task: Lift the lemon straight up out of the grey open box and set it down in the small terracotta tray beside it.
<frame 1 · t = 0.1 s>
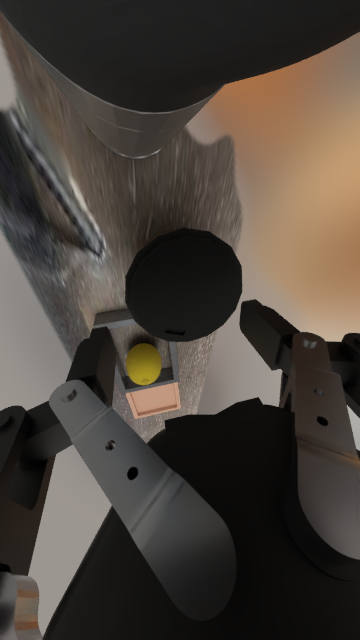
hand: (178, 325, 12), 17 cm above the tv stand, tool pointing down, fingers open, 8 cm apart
lemon: (142, 345, 35), resting in grey open box
coffee cup: (167, 256, 27), on the tv stand
grey open box: (142, 346, 35), on the tv stand
tray: (154, 395, 44), on the tv stand
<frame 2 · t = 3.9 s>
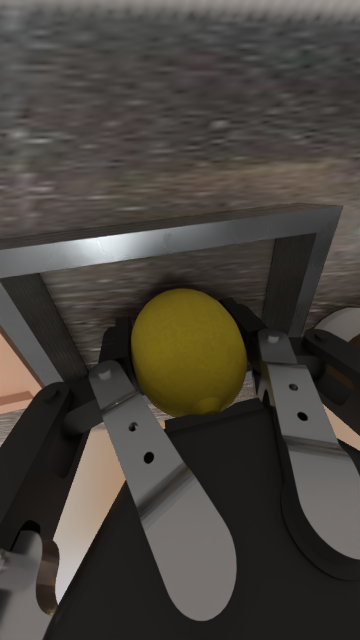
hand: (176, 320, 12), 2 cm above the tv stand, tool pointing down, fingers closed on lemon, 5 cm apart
lemon: (171, 307, 14), resting in grey open box, touching gripper
coffee cup: (332, 333, 19), on the tv stand
grey open box: (172, 308, 14), on the tv stand
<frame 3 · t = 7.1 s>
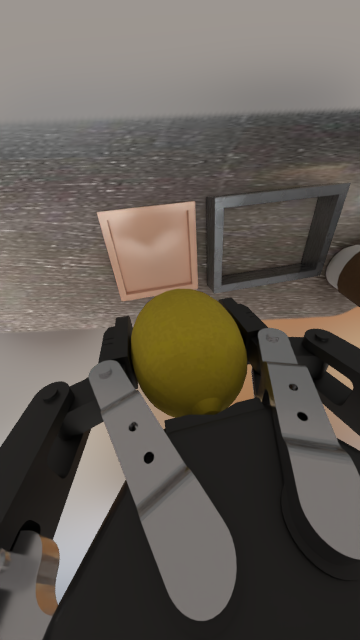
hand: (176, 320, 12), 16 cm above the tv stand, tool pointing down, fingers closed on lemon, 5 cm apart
lemon: (171, 307, 14), point 14 cm above the tv stand, touching gripper
coffee cup: (342, 264, 32), on the tv stand
grey open box: (263, 238, 27), on the tv stand
tray: (154, 253, 25), on the tv stand
when the fingers open (3 cm above the tv stand, at t = 10.3 s): lemon drops 1 cm, resting on tray.
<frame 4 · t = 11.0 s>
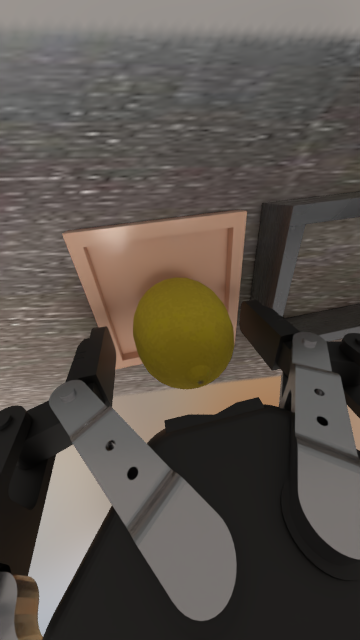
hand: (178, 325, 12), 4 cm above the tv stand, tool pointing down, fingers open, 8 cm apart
lemon: (170, 296, 15), resting on tray
grey open box: (339, 266, 17), on the tv stand
tray: (167, 295, 15), on the tv stand
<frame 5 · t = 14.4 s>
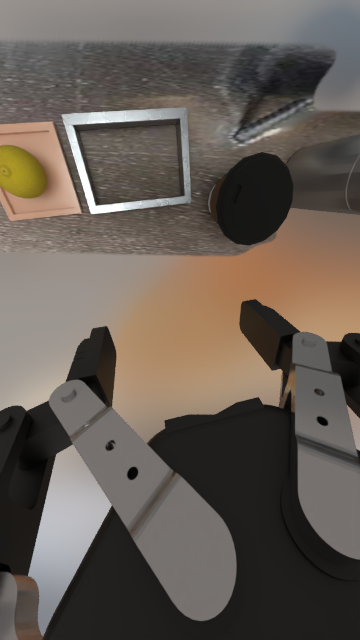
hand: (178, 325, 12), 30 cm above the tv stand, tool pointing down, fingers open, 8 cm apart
lemon: (33, 175, 29), resting on tray
coffee cup: (223, 200, 36), on the tv stand
grey open box: (135, 166, 31), on the tv stand
tray: (33, 175, 29), on the tv stand
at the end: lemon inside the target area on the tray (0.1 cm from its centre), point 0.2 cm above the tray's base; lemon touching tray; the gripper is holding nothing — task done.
